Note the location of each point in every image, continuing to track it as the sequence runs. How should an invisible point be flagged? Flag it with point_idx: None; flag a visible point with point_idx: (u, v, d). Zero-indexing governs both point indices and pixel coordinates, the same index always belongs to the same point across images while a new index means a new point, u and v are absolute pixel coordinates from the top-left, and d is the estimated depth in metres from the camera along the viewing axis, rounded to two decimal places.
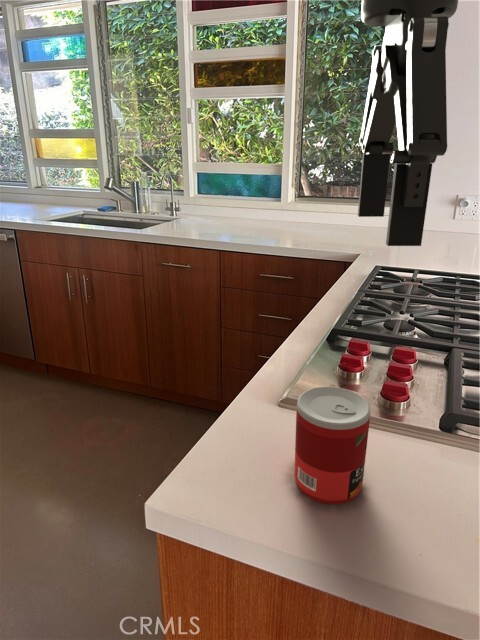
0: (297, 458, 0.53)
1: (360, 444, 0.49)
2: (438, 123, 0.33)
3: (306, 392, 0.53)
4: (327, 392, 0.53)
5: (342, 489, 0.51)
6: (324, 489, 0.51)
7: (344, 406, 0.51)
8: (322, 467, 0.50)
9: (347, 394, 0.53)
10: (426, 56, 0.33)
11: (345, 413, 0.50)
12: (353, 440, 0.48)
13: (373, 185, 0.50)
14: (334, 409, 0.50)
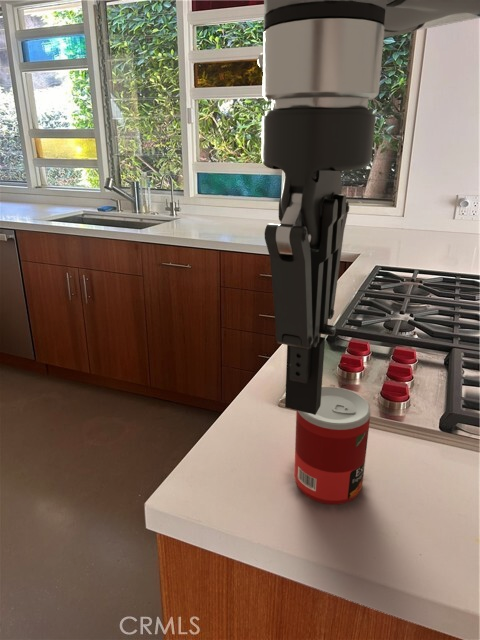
0: (297, 458, 0.53)
1: (360, 444, 0.49)
2: (299, 328, 0.33)
3: None
4: (327, 392, 0.53)
5: (342, 489, 0.51)
6: (324, 489, 0.51)
7: (344, 406, 0.51)
8: (322, 467, 0.50)
9: (347, 394, 0.53)
10: (285, 265, 0.30)
11: (345, 413, 0.50)
12: (353, 440, 0.48)
13: None
14: (334, 409, 0.50)
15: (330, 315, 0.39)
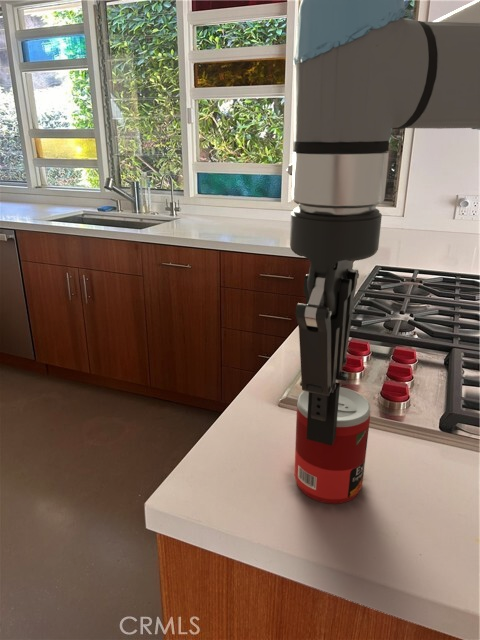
0: (297, 457, 0.53)
1: (360, 442, 0.49)
2: (321, 380, 0.41)
3: (306, 391, 0.53)
4: None
5: (342, 487, 0.51)
6: (324, 487, 0.51)
7: (344, 404, 0.51)
8: (322, 465, 0.50)
9: (347, 393, 0.53)
10: (311, 334, 0.38)
11: (345, 411, 0.50)
12: (353, 438, 0.48)
13: None
14: None
15: (343, 363, 0.47)
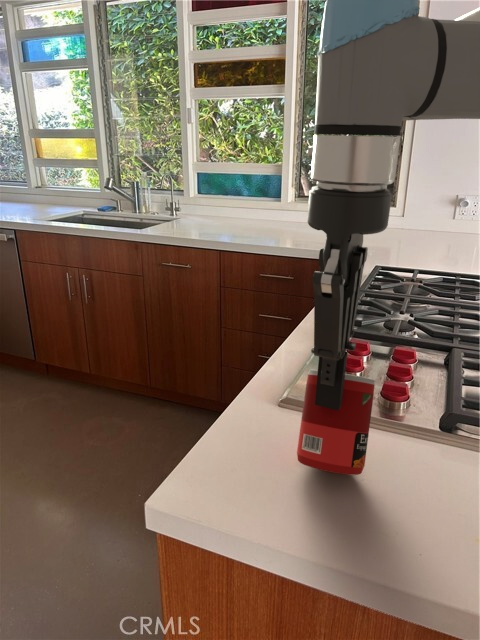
0: (303, 425, 0.54)
1: (366, 404, 0.53)
2: (332, 345, 0.45)
3: None
4: None
5: (346, 451, 0.51)
6: (329, 450, 0.51)
7: None
8: (329, 423, 0.52)
9: None
10: (325, 300, 0.42)
11: None
12: (360, 396, 0.52)
13: None
14: None
15: (351, 334, 0.51)
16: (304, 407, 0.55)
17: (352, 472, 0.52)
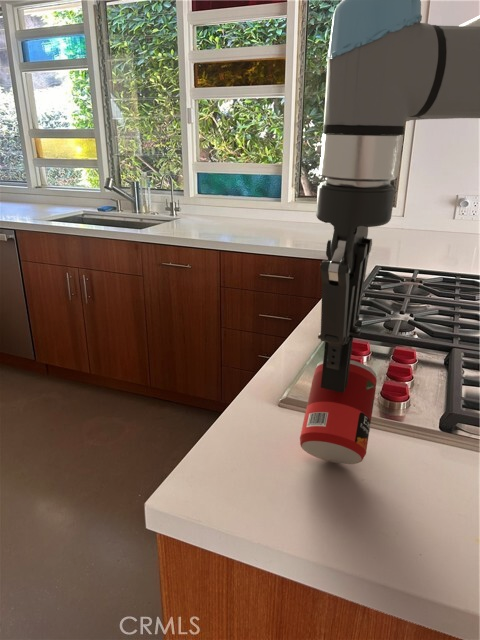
0: (309, 407, 0.57)
1: (369, 391, 0.57)
2: (338, 330, 0.48)
3: None
4: None
5: (351, 426, 0.53)
6: (334, 422, 0.53)
7: None
8: (335, 399, 0.55)
9: None
10: (332, 288, 0.45)
11: None
12: (364, 380, 0.57)
13: None
14: None
15: (356, 320, 0.54)
16: (310, 394, 0.58)
17: (355, 449, 0.53)
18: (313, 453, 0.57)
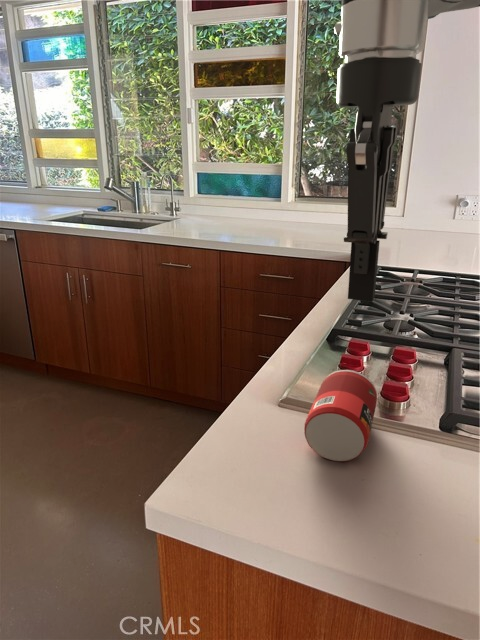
0: (316, 400, 0.61)
1: (371, 396, 0.62)
2: (366, 224, 0.45)
3: None
4: None
5: (356, 407, 0.57)
6: (340, 401, 0.57)
7: None
8: (342, 389, 0.60)
9: None
10: (359, 173, 0.42)
11: None
12: (367, 386, 0.62)
13: None
14: None
15: (382, 225, 0.51)
16: (317, 395, 0.63)
17: (359, 425, 0.55)
18: (315, 445, 0.58)
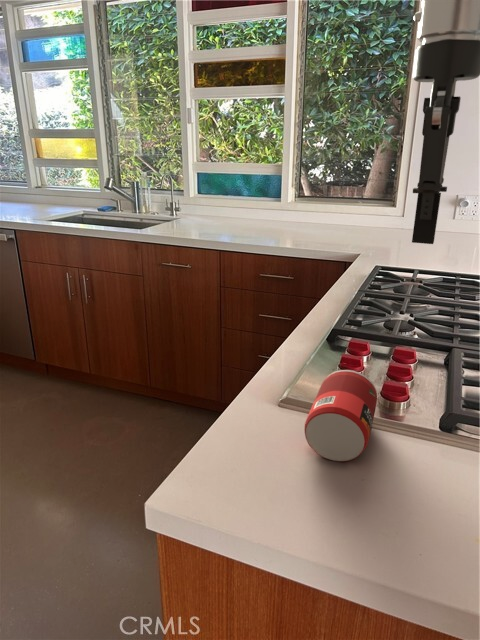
0: (316, 400, 0.61)
1: (372, 396, 0.62)
2: (435, 175, 0.56)
3: None
4: None
5: (356, 407, 0.57)
6: (341, 401, 0.57)
7: None
8: (342, 389, 0.60)
9: None
10: (433, 132, 0.53)
11: None
12: (368, 386, 0.62)
13: None
14: None
15: (442, 181, 0.62)
16: (317, 395, 0.63)
17: (360, 425, 0.55)
18: (316, 444, 0.58)
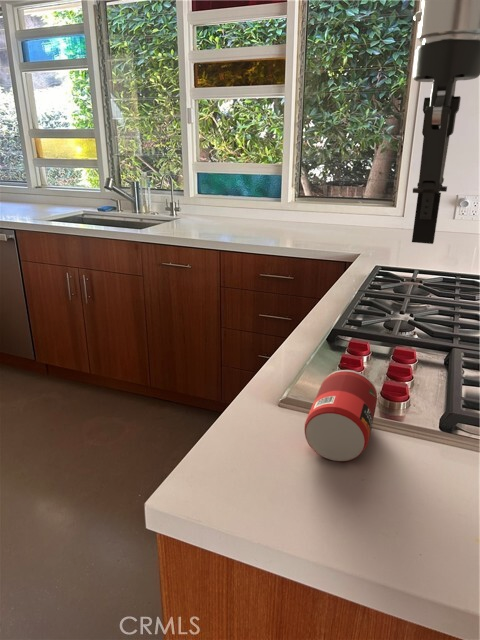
0: (316, 400, 0.61)
1: (372, 396, 0.62)
2: (435, 175, 0.56)
3: None
4: None
5: (356, 407, 0.57)
6: (341, 401, 0.57)
7: None
8: (342, 389, 0.60)
9: None
10: (433, 132, 0.53)
11: None
12: (368, 386, 0.62)
13: None
14: None
15: (442, 181, 0.62)
16: (317, 395, 0.63)
17: (360, 425, 0.55)
18: (316, 444, 0.58)
